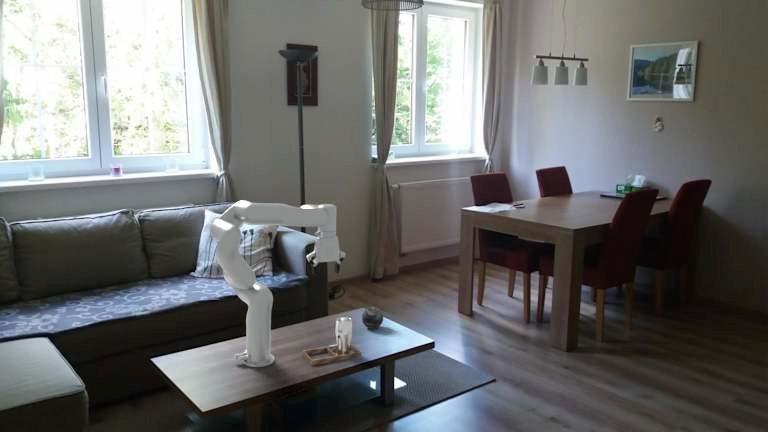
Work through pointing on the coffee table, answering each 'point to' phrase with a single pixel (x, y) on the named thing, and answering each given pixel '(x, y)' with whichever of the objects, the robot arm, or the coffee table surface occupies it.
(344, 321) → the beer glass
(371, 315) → the decorative stone
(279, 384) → the coffee table surface
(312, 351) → the coaster frame
